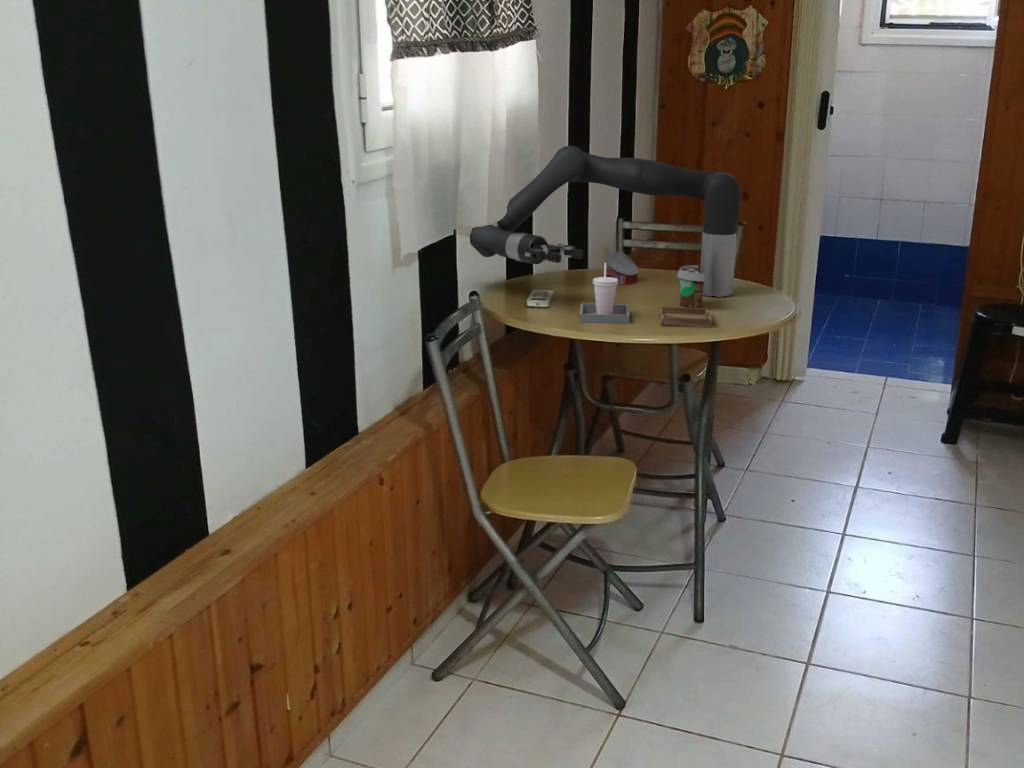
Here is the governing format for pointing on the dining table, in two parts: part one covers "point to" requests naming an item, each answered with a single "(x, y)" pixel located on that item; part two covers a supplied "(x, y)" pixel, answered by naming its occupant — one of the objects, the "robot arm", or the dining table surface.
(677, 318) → the walnut tray
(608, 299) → the smoothie
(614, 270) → the canned food
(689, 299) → the food container
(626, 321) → the grey square frame
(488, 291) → the dining table surface
